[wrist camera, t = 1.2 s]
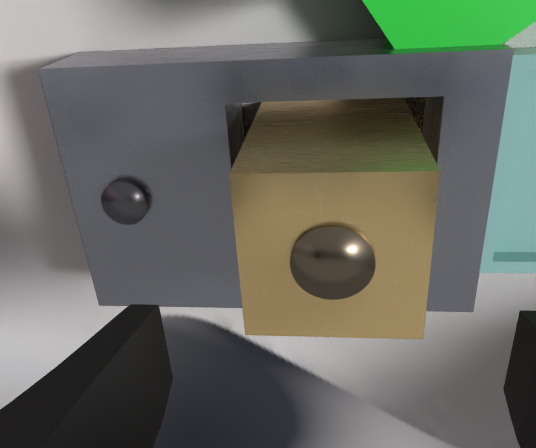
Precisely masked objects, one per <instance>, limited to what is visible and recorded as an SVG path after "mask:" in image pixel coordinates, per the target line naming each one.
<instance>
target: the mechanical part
mask: <svg viewBox="0 0 536 448" xmlns="http://www.w3.org/2000/svg"><path fill="white" fill-rule="evenodd" d="M362 1H363V3H364V4H365V6H366V7H367V9H368V10H369V12H370V13H371V15H372V16H373V18H374V19H375V21H376V22H377V24H378V25H379V27H380V28H381V30H382V31H383V33H384V34H385V36H386V37H387V39H388V40H389V41H390V43H391V44H392V46H393V47H394V49H409V48H432V47H455V46H478V45H501V44H503V43H505V42H506V41H507V40H509V39H510V38H512V37H513V36H515V35H516V34H518V33H519V32H521V31H522V30H523V29H525V28H526V27H528V26H529V25H531V24H532V23H534V22H535V21H536V0H362Z"/></svg>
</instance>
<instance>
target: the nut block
mask: <svg viewBox="0 0 536 448" xmlns="http://www.w3.org/2000/svg"><path fill="white" fill-rule="evenodd" d="M229 179H230V189H231V199H232V209H233V219H234V228H235V238H236V248H237V258H238V268H239V278H240V288H241V298H242V308H243V318H244V328H245V335H267V336H310V337H352V338H395V339H423V336H424V327H425V317H426V307H427V297H428V288H429V278H430V268H431V258H432V249H433V239H434V229H435V219H436V209H437V200H438V190H439V180H440V169H439V167H438V165H437V163H436V161H435V159H434V157H433V155H432V153H431V151H430V149H429V147H428V145H427V143H426V141H425V139H424V137H423V135H422V133H421V132H420V130H419V128H418V126H417V124H416V122H415V120H414V118H413V116H412V114H411V112H410V110H409V108H408V106H407V104H406V102H405V100H404V98H375V99H344V100H312V101H281V102H262V103H261V105H260V107H259V109H258V111H257V114H256V116H255V118H254V120H253V122H252V125H251V127H250V129H249V131H248V133H247V136H246V138H245V140H244V142H243V144H242V147H241V149H240V151H239V153H238V155H237V158H236V160H235V162H234V164H233V166H232V169H231V171H230V173H229Z"/></svg>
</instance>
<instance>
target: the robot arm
mask: <svg viewBox="0 0 536 448" xmlns="http://www.w3.org/2000/svg"><path fill="white" fill-rule="evenodd" d="M172 379H173V376H172V371H171V366H170V361H169V355H168V350H167V345H166V340H165V335H164V330H163V324H162V319H161V314H160V309H159V305H147V304H131V305H129V306H128V307H127V308H126V309H124V310H123V311H122V312H121V313H119V314H118V315H117V316H116V317H115V318H113V319H112V320H111V321H110V322H109V323H108V324H107V325H105V326H104V327H103V328H102V329H101V330H100V331H98V332H97V333H96V334H95V335H94V336H93V337H91V338H90V339H89V340H88V341H87V342H86V343H84V344H83V345H82V346H81V347H80V348H78V349H77V350H76V351H75V352H74V353H72V354H71V355H70V356H69V357H68V358H66V359H65V360H64V361H63V362H62V363H61V364H59V365H58V366H57V367H56V368H54V369H53V370H52V371H51V372H49V373H48V374H47V375H45V376H44V377H43V378H41V379H40V380H39V381H38V382H36V383H35V384H34V385H32V386H31V387H30V388H28V389H27V390H26V391H25V392H23V393H22V394H21V395H19V396H18V397H17V398H16V399H14V400H13V401H12V402H10V403H9V404H7V405H6V406H5V407H3V408H2V409H1V410H0V448H153V445H154V443H155V440H156V437H157V435H158V432H159V429H160V427H161V424H162V420H163V416H164V413H165V409H166V405H167V401H168V397H169V392H170V388H171V384H172ZM504 393H505V397H506V401H507V405H508V408H509V412H510V416H511V420H512V423H513V427H514V430H515V434H516V437H517V440H518V443H519V445H520V448H536V311H520V312H519V317H518V322H517V327H516V332H515V336H514V341H513V346H512V351H511V356H510V361H509V365H508V370H507V375H506V380H505V385H504Z"/></svg>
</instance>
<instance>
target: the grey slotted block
mask: <svg viewBox="0 0 536 448" xmlns="http://www.w3.org/2000/svg"><path fill="white" fill-rule="evenodd" d="M513 53H514V49H513V48H511V47H510V46H508V45H506V44H504V43H503V44H501V45H478V46H455V47H432V48H409V49H394V47H393V46H392V44H391V43H390V41H389V40H388V39H387V38H379V39H357V40H335V41H313V42H292V43H270V44H248V45H226V46H204V47H182V48H160V49H138V50H116V51H94V52H79V53H76V54H74V55H71V56H69V57H66V58H64V59H61V60H59V61H56V62H54V63H51V64H49V65H46V66H44V67H41V68H39V69H38V71H39V75H40V79H41V83H42V87H43V91H44V94H45V98H46V102H47V106H48V110H49V114H50V118H51V121H52V125H53V129H54V133H55V137H56V141H57V145H58V149H59V152H60V156H61V160H62V164H63V168H64V172H65V176H66V179H67V183H68V187H69V191H70V195H71V199H72V203H73V206H74V210H75V214H76V218H77V222H78V226H79V230H80V233H81V237H82V241H83V245H84V249H85V253H86V257H87V260H88V264H89V268H90V272H91V276H92V280H93V284H94V287H95V291H96V295H97V299H98V303H99V305H102V306H129V305H131V304H147V305H159V306H160V307H217V308H242V298H241V288H240V278H239V268H238V258H237V248H236V238H235V228H234V219H233V209H232V199H231V189H230V179H229V173H230V171H231V169H232V166H233V164H234V162H235V160H236V158H237V155H238V153H239V151H240V149H241V147H242V144H243V142H244V140H245V138H244V126H243V114H242V103H249V102H281V101H312V100H344V99H375V98H407V97H425V105H424V117H423V129H422V135H423V137H424V139H425V141H426V143H427V145H428V147H429V149H430V151H431V153H432V155H433V157H434V159H435V161H436V163H437V165H438V167H439V169H440V180H439V190H438V200H437V209H436V219H435V229H434V239H433V249H432V258H431V268H430V278H429V288H428V297H427V307H426V311H446V312H473V310H474V304H475V297H476V291H477V284H478V278H479V271H480V265H481V259H482V252H483V246H484V239H485V233H486V227H487V220H488V214H489V207H490V201H491V194H492V188H493V182H494V175H495V169H496V162H497V156H498V149H499V143H500V137H501V130H502V124H503V117H504V111H505V104H506V98H507V92H508V85H509V79H510V72H511V66H512V59H513Z"/></svg>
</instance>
